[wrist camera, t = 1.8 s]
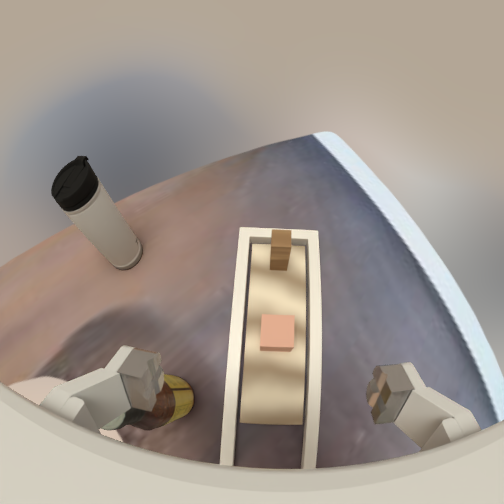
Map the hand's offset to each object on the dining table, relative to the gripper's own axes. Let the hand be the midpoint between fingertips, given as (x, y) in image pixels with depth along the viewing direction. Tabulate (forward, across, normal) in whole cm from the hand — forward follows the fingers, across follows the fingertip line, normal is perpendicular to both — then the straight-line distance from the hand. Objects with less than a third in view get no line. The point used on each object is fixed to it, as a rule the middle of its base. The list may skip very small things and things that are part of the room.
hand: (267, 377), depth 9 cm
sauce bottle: (+17, +11, +22) cm, 31 cm away
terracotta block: (+23, -2, +14) cm, 27 cm away
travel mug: (+33, +24, +7) cm, 41 cm away
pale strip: (+25, -2, +14) cm, 29 cm away
